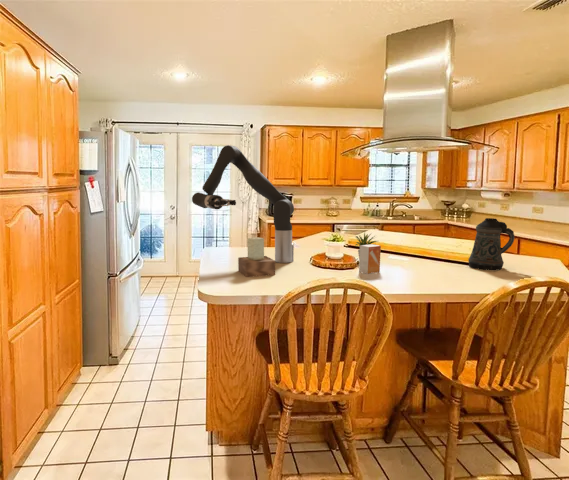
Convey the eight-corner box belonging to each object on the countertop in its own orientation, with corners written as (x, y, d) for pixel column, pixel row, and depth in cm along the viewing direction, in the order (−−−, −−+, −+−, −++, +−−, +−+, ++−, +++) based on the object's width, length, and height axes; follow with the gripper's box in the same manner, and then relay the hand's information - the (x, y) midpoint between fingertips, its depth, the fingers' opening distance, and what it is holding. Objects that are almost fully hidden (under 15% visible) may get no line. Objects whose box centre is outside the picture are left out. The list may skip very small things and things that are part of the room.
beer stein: (462, 264, 239) (465, 217, 235) (499, 264, 239) (502, 217, 235) (476, 270, 222) (479, 220, 219) (515, 270, 222) (519, 220, 219)
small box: (367, 274, 214) (368, 247, 212) (358, 271, 219) (359, 245, 217) (380, 272, 218) (381, 245, 216) (370, 269, 223) (371, 243, 222)
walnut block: (265, 269, 225) (265, 255, 224) (275, 275, 212) (275, 260, 211) (238, 271, 220) (238, 257, 219) (246, 277, 207) (246, 262, 206)
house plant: (361, 265, 234) (362, 234, 231) (344, 261, 246) (345, 231, 243) (382, 263, 241) (383, 232, 239) (365, 258, 253) (365, 229, 250)
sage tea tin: (257, 257, 219) (257, 237, 217) (264, 259, 214) (263, 238, 213) (247, 259, 215) (247, 238, 214) (254, 260, 211) (253, 239, 210)
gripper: (201, 195, 237) (214, 196, 224) (225, 194, 245) (240, 195, 232) (201, 209, 238) (214, 211, 225) (226, 208, 246) (240, 210, 233)
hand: (227, 203), depth 228 cm, fingers open, 8 cm apart
